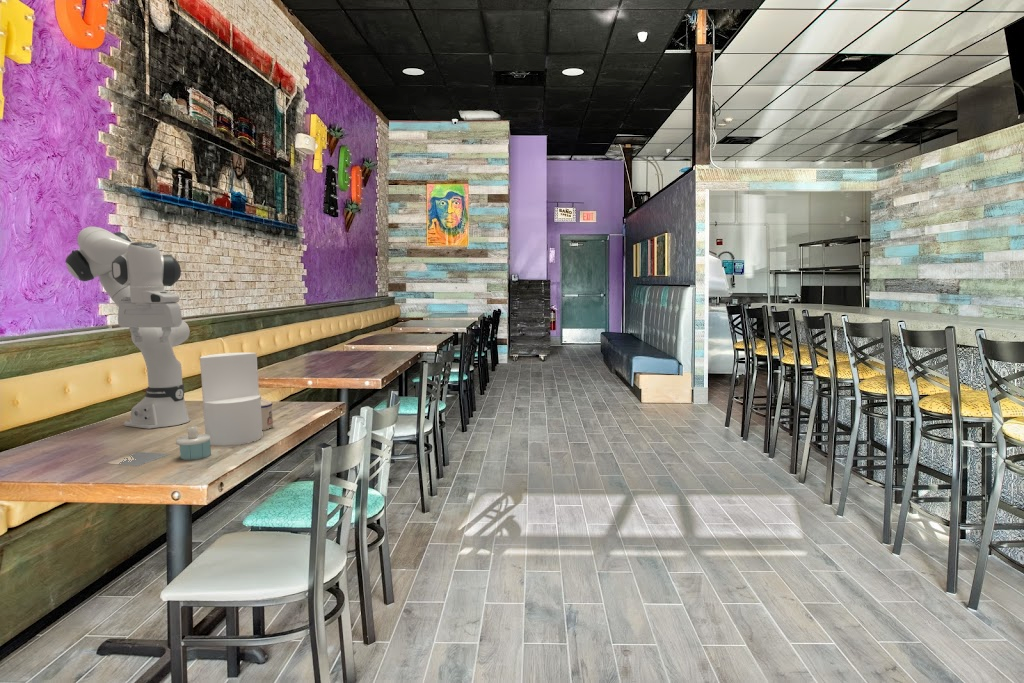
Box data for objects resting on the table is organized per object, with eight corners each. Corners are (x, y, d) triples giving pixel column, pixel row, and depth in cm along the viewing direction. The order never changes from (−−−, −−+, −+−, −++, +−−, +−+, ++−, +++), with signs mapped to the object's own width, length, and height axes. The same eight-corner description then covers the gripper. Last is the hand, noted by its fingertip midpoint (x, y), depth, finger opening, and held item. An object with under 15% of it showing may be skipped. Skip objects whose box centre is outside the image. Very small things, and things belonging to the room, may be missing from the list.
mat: (103, 464, 177) (103, 463, 177) (137, 452, 188) (137, 452, 188) (137, 466, 174) (137, 465, 174) (170, 455, 185) (170, 454, 185)
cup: (174, 459, 180) (173, 443, 180) (194, 452, 188) (193, 436, 188) (197, 461, 179) (196, 444, 178) (216, 453, 186) (215, 437, 186)
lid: (168, 444, 179) (167, 430, 178) (192, 436, 187) (191, 423, 187) (194, 446, 176) (193, 431, 176) (217, 438, 185) (216, 424, 185)
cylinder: (199, 439, 204) (193, 355, 201) (253, 430, 215) (248, 351, 212) (213, 449, 191) (207, 360, 188) (270, 439, 202) (265, 355, 199)
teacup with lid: (273, 429, 215) (272, 397, 214) (245, 432, 212) (243, 399, 211) (273, 422, 226) (271, 391, 225) (246, 425, 223) (244, 393, 222)
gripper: (110, 297, 183) (114, 343, 185) (167, 296, 179) (171, 343, 180) (128, 296, 189) (131, 341, 191) (183, 296, 185) (187, 341, 186)
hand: (151, 342), depth 185 cm, fingers open, 8 cm apart
